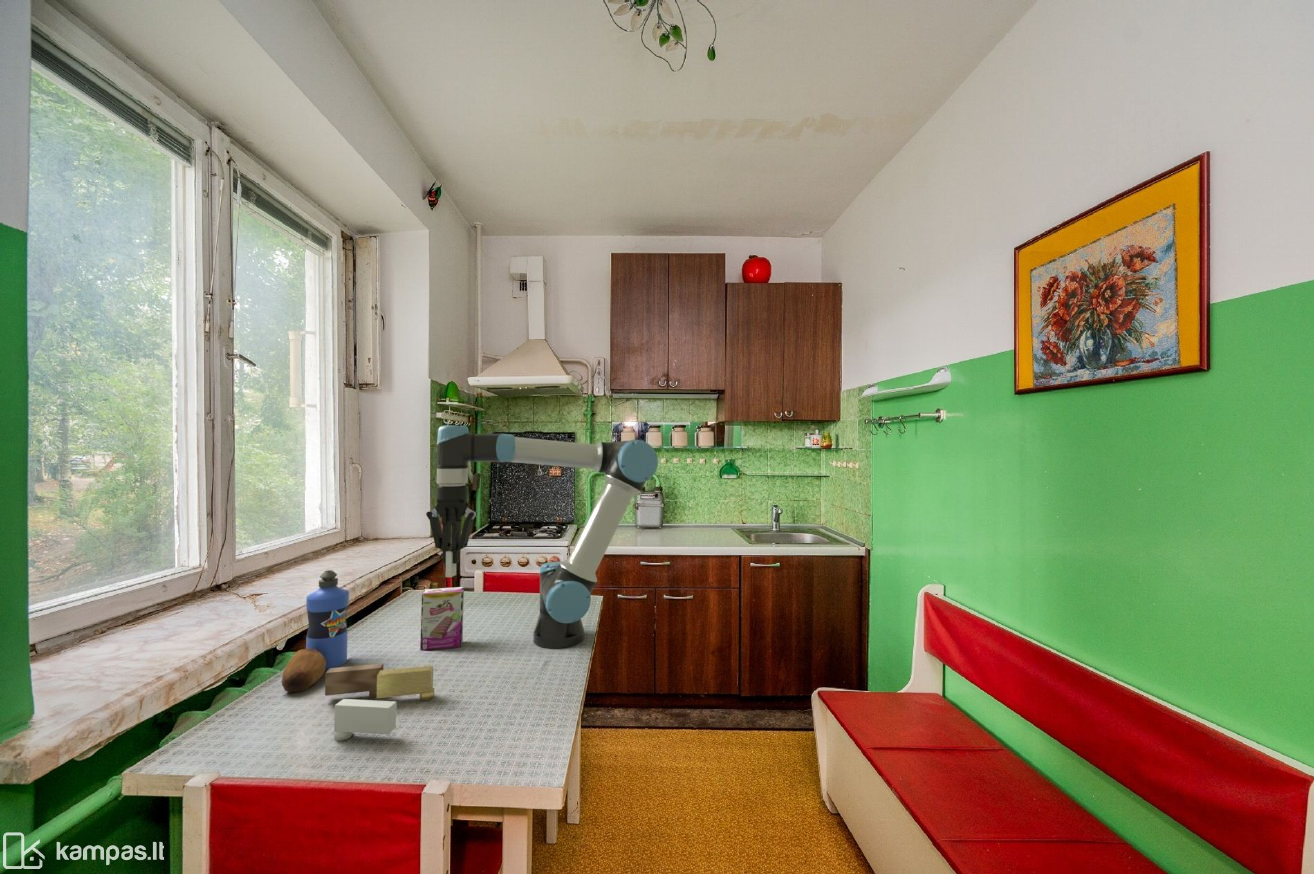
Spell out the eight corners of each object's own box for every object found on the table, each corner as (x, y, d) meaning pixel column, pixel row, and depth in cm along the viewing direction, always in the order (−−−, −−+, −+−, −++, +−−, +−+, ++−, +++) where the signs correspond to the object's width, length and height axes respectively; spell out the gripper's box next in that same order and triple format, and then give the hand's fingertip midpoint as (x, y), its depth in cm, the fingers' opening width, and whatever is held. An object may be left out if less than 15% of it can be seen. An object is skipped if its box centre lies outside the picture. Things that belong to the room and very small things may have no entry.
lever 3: (435, 693, 115) (435, 664, 115) (432, 700, 112) (433, 670, 112) (380, 699, 112) (380, 669, 112) (376, 706, 109) (376, 675, 109)
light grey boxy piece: (330, 740, 96) (331, 705, 96) (341, 731, 99) (342, 698, 99) (387, 743, 95) (387, 708, 96) (396, 734, 98) (397, 700, 98)
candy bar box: (419, 652, 141) (420, 593, 141) (422, 645, 146) (423, 588, 146) (462, 647, 144) (463, 590, 145) (463, 641, 149) (464, 585, 149)
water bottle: (355, 663, 133) (357, 569, 134) (319, 677, 125) (321, 577, 125) (333, 657, 137) (335, 565, 138) (296, 670, 129) (298, 573, 129)
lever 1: (385, 691, 116) (386, 662, 116) (382, 697, 113) (382, 668, 113) (329, 697, 113) (330, 667, 113) (324, 703, 110) (325, 673, 110)
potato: (304, 710, 115) (268, 698, 112) (315, 673, 127) (282, 662, 124) (325, 682, 116) (290, 670, 112) (334, 648, 128) (303, 636, 124)
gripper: (482, 484, 133) (481, 572, 133) (435, 483, 135) (434, 571, 134) (469, 486, 126) (468, 580, 125) (420, 485, 127) (418, 578, 127)
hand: (450, 575), depth 130 cm, fingers closed
